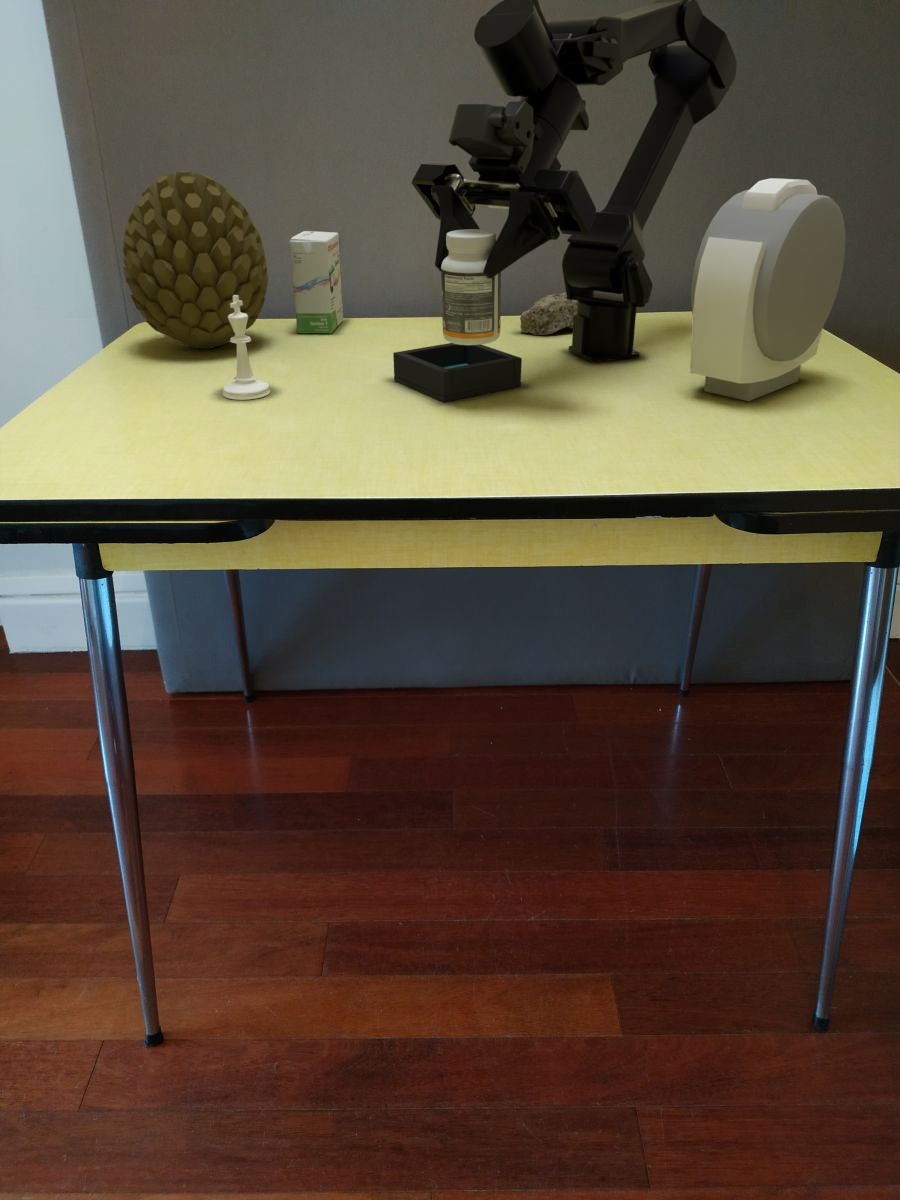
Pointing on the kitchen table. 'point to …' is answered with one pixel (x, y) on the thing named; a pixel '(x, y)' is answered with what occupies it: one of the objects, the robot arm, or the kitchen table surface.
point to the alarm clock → (764, 287)
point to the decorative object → (193, 259)
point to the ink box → (316, 281)
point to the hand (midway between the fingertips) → (461, 272)
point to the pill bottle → (470, 289)
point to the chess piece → (243, 360)
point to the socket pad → (457, 370)
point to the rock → (549, 315)
